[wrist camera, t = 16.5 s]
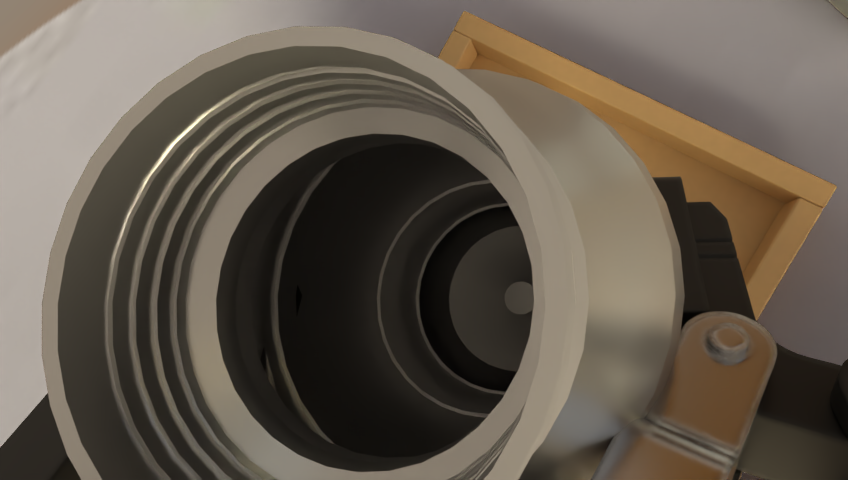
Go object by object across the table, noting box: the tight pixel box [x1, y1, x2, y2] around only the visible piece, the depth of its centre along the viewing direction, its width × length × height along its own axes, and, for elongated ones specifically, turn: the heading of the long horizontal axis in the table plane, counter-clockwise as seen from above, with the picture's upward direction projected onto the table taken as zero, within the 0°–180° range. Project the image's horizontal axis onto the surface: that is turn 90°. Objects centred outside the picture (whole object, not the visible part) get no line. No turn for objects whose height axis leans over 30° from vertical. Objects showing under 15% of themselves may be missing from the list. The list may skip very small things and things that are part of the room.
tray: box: [438, 11, 837, 321], centre depth 23 cm, size 16×14×2 cm
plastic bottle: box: [42, 26, 685, 480], centre depth 14 cm, size 6×7×20 cm
